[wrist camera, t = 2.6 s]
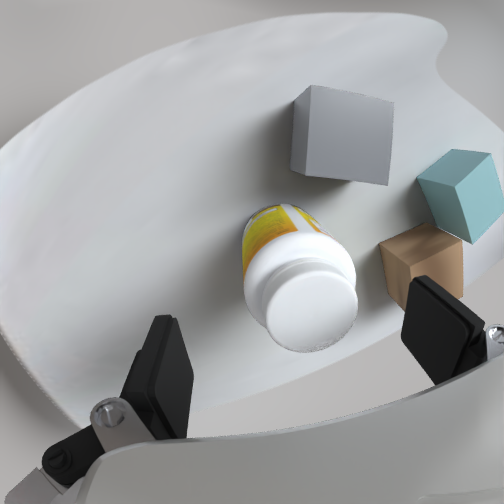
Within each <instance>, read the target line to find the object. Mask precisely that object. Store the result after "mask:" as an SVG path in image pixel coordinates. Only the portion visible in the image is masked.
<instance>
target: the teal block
mask: <svg viewBox="0 0 504 504" xmlns="http://www.w3.org/2000/svg"><path fill="white" fill-rule="evenodd" d="M416 178H417V180H418V182H419V184H420V186H421V189H422V191H423V193H424V195H425V198H426V200H427V202H428V205H429V207H430V210H431V212H432V215H433V217H434V220H435V222H436V225H437V227H439V228H441V229H443V230H445V231H447V232H449V233H451V234H453V235H455V236H457V237H459V238H461V239H463V240H465V241H467V242H469V243H470V244H472V245H473V244H474V243H475V242H476V241H477V240H478V239H479V238H480V237H481V236H482V235H483V234H484V233H485V232H486V231H487V229H488V228H489V227H490V226H491V225H492V224H493V223H494V222H495V221H496V220H497V219H498V218H499V217H500V216H501V214H502V213H503V212H504V198H503V193H502V189H501V186H500V182H499V178H498V175H497V171H496V168H495V165H494V161H493V158H492V155H491V153H484V152H476V151H467V150H457V149H452V150H450V151H449V152H448V153H447V154H445V155H444V156H443V157H442V158H440V159H439V160H438V161H437V162H435V163H434V164H433V165H432V166H430V167H429V168H428V169H427V170H425V171H424V172H423V173H422V174H420V175H419V176H418V177H416Z"/></svg>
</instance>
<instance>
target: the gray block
mask: <svg viewBox="0 0 504 504" xmlns="http://www.w3.org/2000/svg"><path fill="white" fill-rule="evenodd" d="M393 115H394V103H393V102H389V101H386V100H382V99H378V98H374V97H370V96H366V95H362V94H357V93H353V92H348V91H343V90H338V89H333V88H327V87H322V86H315V85H310V86H309V87H308V88H307V89H306V90H305V91H304V92H303V93H302V94H301V95H299V96H298V97H297V98H296V99H295V100H294V113H293V129H292V144H291V158H290V170H292V171H295V172H297V173H300V174H303V175H306V176H316V177H325V178H334V179H342V180H350V181H358V182H365V183H372V184H379V185H385V186H388V180H389V171H390V161H391V149H392V135H393Z"/></svg>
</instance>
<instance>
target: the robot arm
mask: <svg viewBox="0 0 504 504" xmlns="http://www.w3.org/2000/svg"><path fill="white" fill-rule="evenodd" d="M484 325H485V322H484V321H483V320H482V319H481V318H480V317H478V316H477V315H476V314H475V313H474V312H472V311H471V310H470V309H469V308H468V307H466V306H465V305H464V304H463V303H462V302H460V301H459V300H458V299H457V298H455V297H454V296H453V295H452V294H450V293H449V292H448V291H447V290H445V289H444V288H443V287H441V286H440V285H439V284H438V283H436V282H435V281H434V280H432V279H431V278H430V277H428V276H427V275H422V276H418V277H414V278H413V279H412V281H411V282H410V284H409V289H408V296H407V303H406V309H405V315H404V321H403V326H402V332H401V339H402V342H403V343H404V344H405V346H406V347H407V348H408V350H409V351H410V352H411V353H412V355H413V356H414V357H415V359H416V360H417V361H418V363H419V364H420V365H421V367H422V368H423V369H424V371H425V372H426V373H427V374H428V376H429V377H430V378H431V380H432V381H433V383H434V384H435V385H436V386H433V387H431V388H429V389H426V390H424V391H421V392H419V393H416V394H413V395H411V396H408V397H406V398H402V399H400V400H397V401H394V402H391V403H388V404H385V405H382V406H379V407H376V408H373V409H369V410H366V411H362V412H359V413H355V414H352V415H348V416H344V417H340V418H336V419H332V420H328V421H323V422H318V423H314V424H309V425H304V426H299V427H293V428H288V429H281V430H274V431H267V432H260V433H251V434H241V435H231V436H220V437H203V438H186V437H187V428H188V419H189V411H190V403H191V395H192V387H193V380H194V374H193V369H192V366H191V363H190V360H189V357H188V354H187V351H186V348H185V344H184V341H183V338H182V334H181V331H180V328H179V324H178V321H177V319H176V318H172V316H171V315H158V316H155V318H154V320H153V323H152V325H151V328H150V330H149V332H148V335H147V337H146V340H145V342H144V345H143V347H142V350H139V351H138V352H137V354H136V356H135V358H134V361H133V363H132V366H131V369H130V371H129V374H128V376H127V379H126V381H125V384H124V387H123V389H122V392H121V395H120V397H119V398H116V397H114V398H108V399H105V400H102V401H101V402H99V403H98V404H97V405H96V406H95V407H94V408H93V409H92V411H91V414H90V421H91V425H89V426H88V427H86V428H84V429H82V430H81V431H79V432H77V433H75V434H73V435H71V436H69V437H68V438H66V439H64V440H62V441H60V442H58V443H56V444H54V445H52V446H51V447H49V448H48V449H47V450H46V452H45V453H44V455H43V457H42V466H43V467H42V468H41V469H40V470H39V469H38V468H37V467H36V468H35V469H34V470H33V471H32V472H31V473H30V474H29V475H27V476H26V477H25V478H24V479H23V480H22V481H21V482H20V483H19V484H18V485H16V486H15V487H14V488H13V489H12V490H11V491H10V492H9V493H8V494H7V496H6V498H5V504H504V325H500V324H495V325H491V326H489V327H488V328H487V329H486V332H485V331H484V330H483V328H484Z"/></svg>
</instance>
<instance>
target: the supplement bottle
mask: <svg viewBox="0 0 504 504" xmlns="http://www.w3.org/2000/svg"><path fill="white" fill-rule="evenodd" d="M242 259H243V282H244V295H245V300H246V304H247V306H248V309H249V311H250V313H251V314H252V316H253V317H254V318H255V319H256V321H257V322H258V323H259V324H260V325H262V326H263V327H265V328H266V329H267V330H268V332H269V334H270V336H271V337H272V338H273V340H274V341H275V342H276V343H277V344H279V345H280V346H282V347H284V348H286V349H288V350H291V351H295V352H305V353H307V352H315V351H319V350H322V349H325V348H327V347H330V346H332V345H333V344H335V343H336V342H338V341H339V340H340V339H342V338H343V337H344V336H345V335H346V334H347V332H348V331H349V330H350V328H351V327H352V325H353V323H354V321H355V319H356V316H357V311H358V299H357V295H356V292H355V286H356V273H355V268H354V265H353V262H352V260H351V258H350V256H349V254H348V253H347V251H346V250H345V249H344V248H343V246H342V245H341V244H340V243H339V242H338V241H337V240H336V239H335V238H334V237H332V236H331V235H330V234H329V233H328V232H327V231H326V230H325V229H324V228H323V227H322V226H321V225H320V224H319V223H318V222H317V221H316V220H315V219H314V218H312V217H311V216H310V215H309V214H308V213H307V212H305V211H304V210H303V209H301V208H299V207H297V206H294V205H290V204H274V205H270V206H267V207H265V208H263V209H261V210H260V211H258V212H257V213H256V214H255V215H253V216H252V218H251V219H250V220H249V222H248V223H247V225H246V227H245V230H244V233H243V237H242Z"/></svg>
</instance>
